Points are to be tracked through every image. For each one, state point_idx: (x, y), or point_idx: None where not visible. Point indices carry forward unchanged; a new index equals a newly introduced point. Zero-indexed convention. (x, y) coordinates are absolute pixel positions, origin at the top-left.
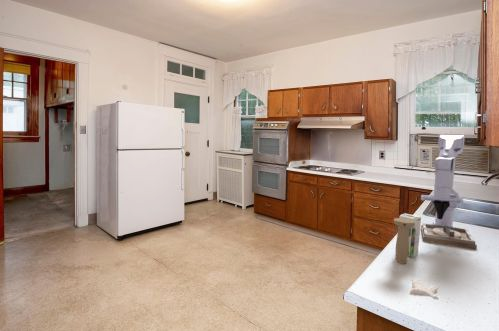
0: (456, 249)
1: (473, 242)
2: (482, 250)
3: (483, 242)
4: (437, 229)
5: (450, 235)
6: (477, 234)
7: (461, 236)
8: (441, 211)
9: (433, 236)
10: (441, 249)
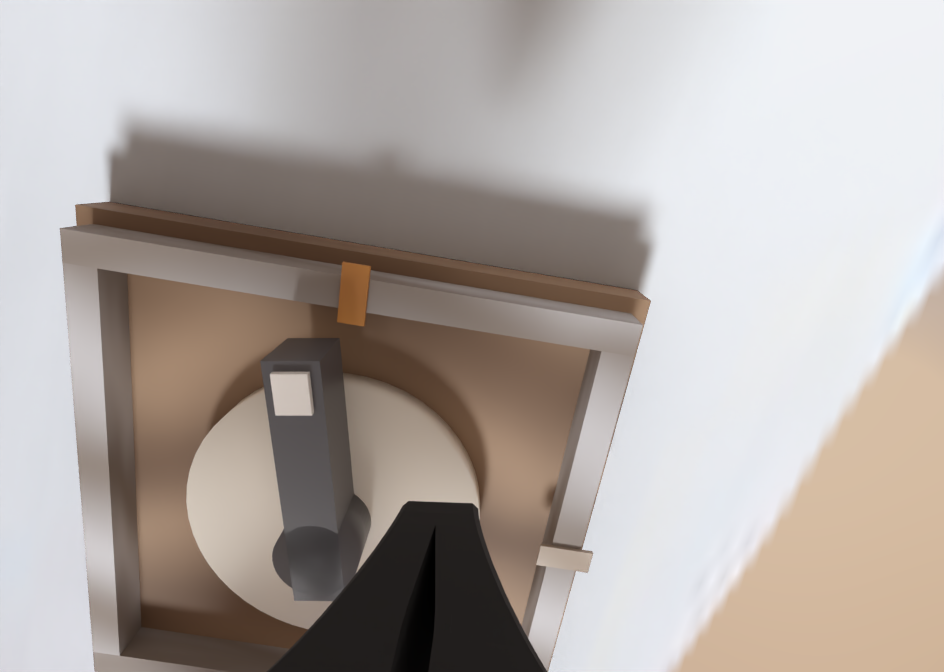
0: (328, 104)
1: (91, 230)
2: (54, 184)
3: (16, 455)
4: None
5: (326, 341)
6: (42, 661)
7: None
8: (403, 667)
9: (537, 304)
10: (508, 27)
